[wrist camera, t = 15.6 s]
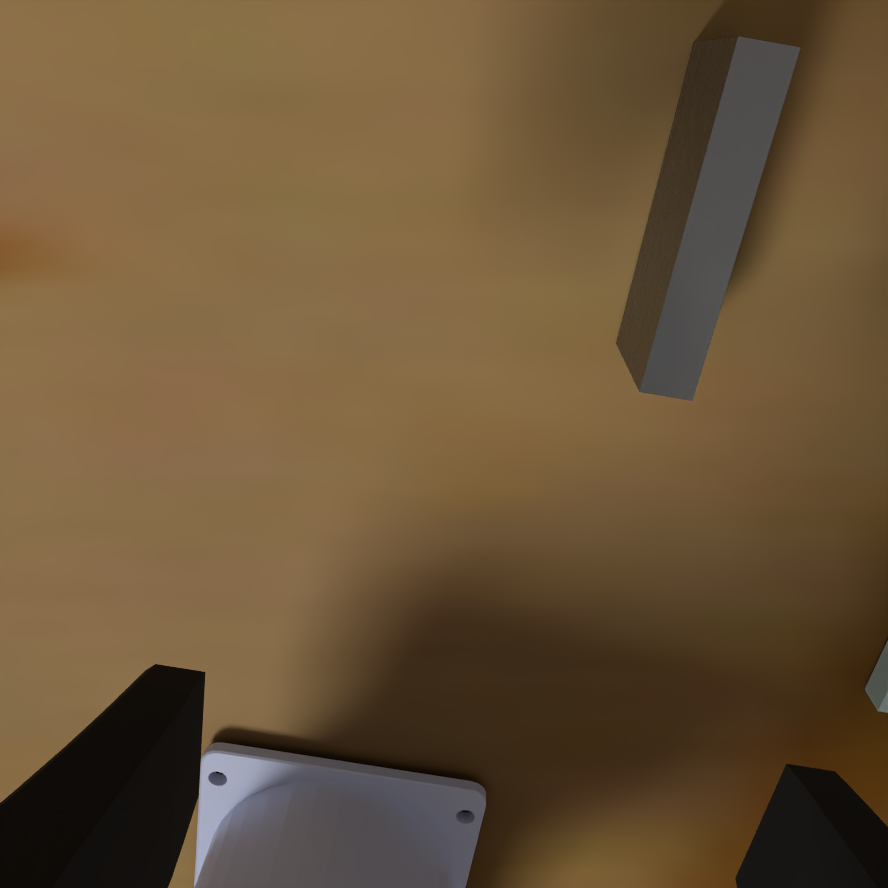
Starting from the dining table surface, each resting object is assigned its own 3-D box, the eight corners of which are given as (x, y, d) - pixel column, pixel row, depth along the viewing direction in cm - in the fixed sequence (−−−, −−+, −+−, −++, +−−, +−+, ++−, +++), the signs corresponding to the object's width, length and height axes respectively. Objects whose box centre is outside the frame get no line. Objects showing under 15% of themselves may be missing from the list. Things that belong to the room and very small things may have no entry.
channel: (935, 398, 18) (1015, 455, 16) (615, 343, 18) (639, 391, 15) (1062, 108, 16) (1183, 116, 13) (694, 42, 16) (737, 36, 13)
